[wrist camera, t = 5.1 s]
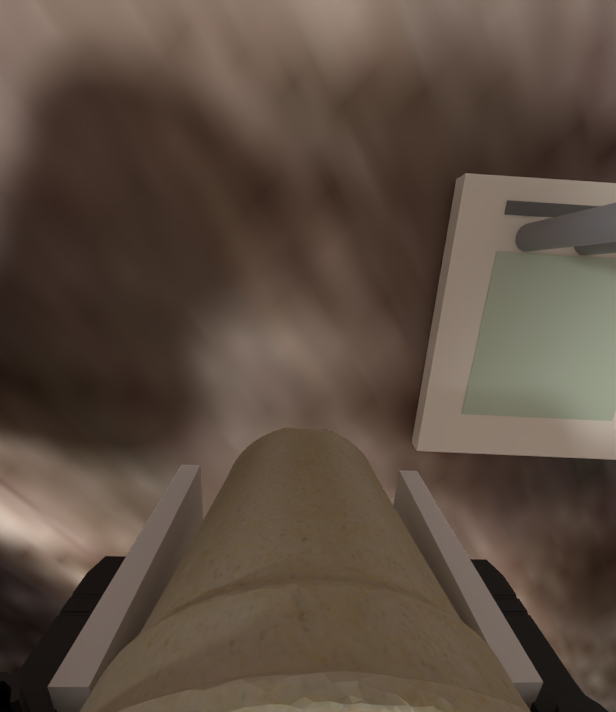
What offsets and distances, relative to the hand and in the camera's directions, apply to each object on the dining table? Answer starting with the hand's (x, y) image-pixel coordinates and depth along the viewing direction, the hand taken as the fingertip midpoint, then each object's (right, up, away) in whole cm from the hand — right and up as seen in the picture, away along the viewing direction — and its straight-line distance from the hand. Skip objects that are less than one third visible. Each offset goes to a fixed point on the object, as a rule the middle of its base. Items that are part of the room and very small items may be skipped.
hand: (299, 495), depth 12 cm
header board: (+19, +8, +10) cm, 23 cm away
